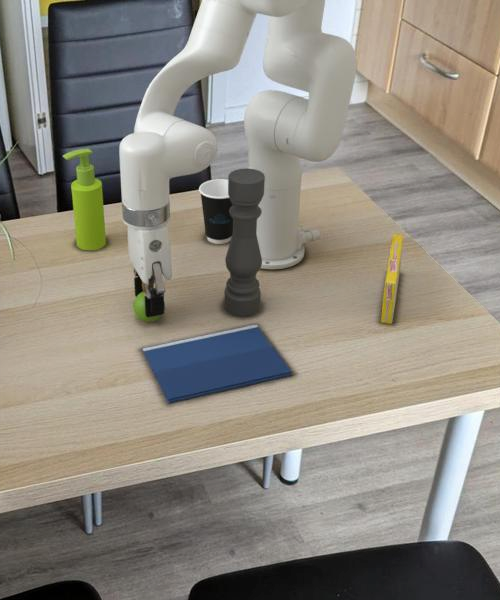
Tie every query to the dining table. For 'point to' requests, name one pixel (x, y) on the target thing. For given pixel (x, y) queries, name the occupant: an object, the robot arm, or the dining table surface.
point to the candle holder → (244, 243)
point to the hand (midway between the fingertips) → (149, 304)
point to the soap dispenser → (87, 203)
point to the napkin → (214, 363)
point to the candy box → (392, 279)
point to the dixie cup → (216, 211)
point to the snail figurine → (140, 305)
